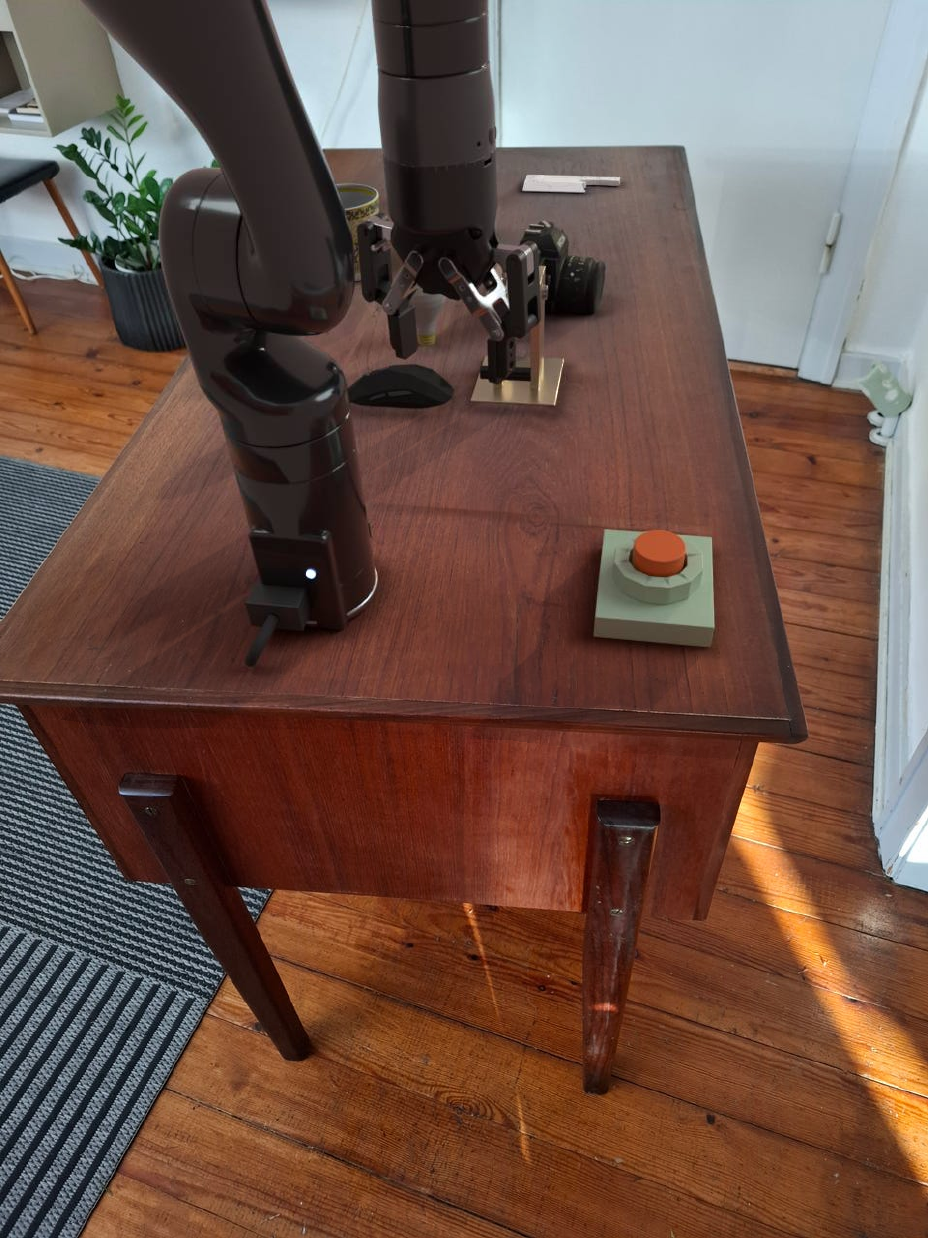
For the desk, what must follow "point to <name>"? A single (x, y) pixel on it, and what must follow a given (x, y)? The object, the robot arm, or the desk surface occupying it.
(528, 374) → the lever
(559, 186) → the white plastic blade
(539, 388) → the bracket
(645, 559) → the button
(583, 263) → the film camera
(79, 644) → the desk surface
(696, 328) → the desk surface
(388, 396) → the gaming mouse
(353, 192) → the ceramic cup
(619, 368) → the desk surface
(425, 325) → the light bulb
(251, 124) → the robot arm
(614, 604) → the button block
